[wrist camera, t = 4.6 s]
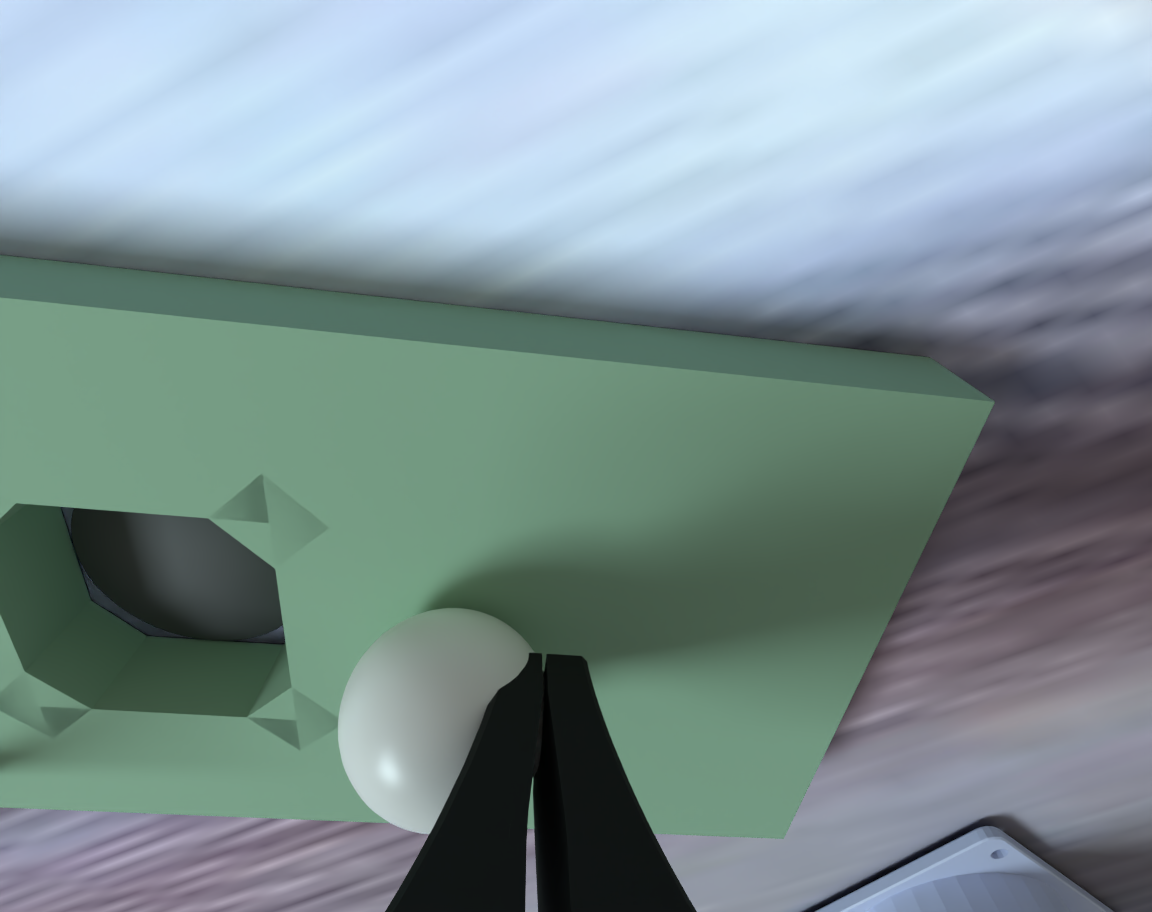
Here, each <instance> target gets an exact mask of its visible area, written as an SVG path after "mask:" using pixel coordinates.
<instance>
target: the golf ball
mask: <svg viewBox="0 0 1152 912" xmlns="http://www.w3.org/2000/svg"><path fill="white" fill-rule="evenodd" d="M529 653H535V652H534V651H533V650H532V648H531V647H530V645H529V644H528V643H527V642H526V641H525V639H524V638H523V637H522V636H521V635H520V634H519V633H518V632H516V631H515V630H514V629H513V628H511V627H510V626H509V625H507V624H506V623H504V622H503V621H501V620H499V619H497V618H495V617H493V616H491V615H488V614H485V613H483V612H479V611H475V610H470V609H463V608H443V609H436V610H430V611H426V612H423V613H420V614H417V615H414V616H412V617H409V618H407V619H405V620H403V621H401V622H400V623H398V624H397V625H395V626H394V627H392V628H391V629H389V630H388V631H386V632H385V633H384V634H382V635H381V636H380V637H379V638H378V639H377V640H376V641H375V642H374V643H373V644H372V645H371V646H370V648H369V649H368V650H367V651H366V652H365V653H364V655H363V656H362V657H361V659H360V660H359V662H358V663H357V665H356V666H355V668H354V670H353V672H352V674H351V676H350V678H349V680H348V683H347V685H346V687H345V691H344V694H343V697H342V701H341V704H340V711H339V718H338V743H339V749H340V754H341V759H342V763H343V766H344V769H345V771H346V774H347V776H348V778H349V780H350V782H351V784H352V786H353V787H354V789H355V790H356V792H357V793H358V795H359V796H360V798H361V799H362V800H363V801H364V802H365V804H366V805H367V806H368V807H369V808H370V809H371V810H372V811H374V812H375V813H376V814H378V815H379V816H380V817H382V818H383V819H385V820H386V821H388V822H389V823H391V824H394V825H396V826H398V827H400V828H402V829H405V830H409V831H413V832H417V833H422V834H430V832H431V831H432V829H433V827H434V825H435V823H436V821H437V819H438V817H439V815H440V813H441V811H442V809H443V807H444V805H445V803H446V801H447V799H448V797H449V795H450V792H451V790H452V788H453V786H454V784H455V782H456V780H457V778H458V776H459V774H460V772H461V770H462V767H463V765H464V763H465V761H466V758H467V756H468V753H469V751H470V749H471V746H472V744H473V741H474V739H475V736H476V734H477V732H478V729H479V727H480V724H481V722H482V719H483V716H484V713H485V710H486V708H487V705H488V704H489V702H490V701H491V700H492V698H493V697H494V695H495V694H496V693H497V691H498V690H499V689H500V688H501V687H503V686H505V685H506V684H508V683H509V682H511V681H512V680H513V679H514V678H515V677H517V676H518V675H519V673H520V672H521V670H522V669H523V668H524V667H525V665H526V663H527V662H528V657H529ZM542 669H543V667H542ZM543 711H544V670H543V695H542V703H541V711H540V720H539V728H538V736H537V745H536V753H535V761H534V769H533V777H534V775H535V774H536V772H537V770H538V767H539V762H540V755H541V745H542V726H543Z"/></svg>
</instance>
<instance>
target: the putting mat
mask: <svg viewBox="0 0 1152 912" xmlns="http://www.w3.org/2000/svg"><path fill="white" fill-rule="evenodd" d="M994 403H995V401H993V400H992V399H990V398H989V397H987V396H986V395H984V394H983V393H981V392H980V391H978V390H977V389H975V388H974V387H973V386H971V385H970V384H968V383H967V382H965V381H964V380H962V379H961V378H959V377H958V376H956V375H955V374H953V373H952V372H950V371H949V370H947V369H946V368H945V367H943V366H942V365H940V364H939V363H937V362H936V361H934V360H933V359H931V358H930V357H922V356H913V355H903V354H894V353H885V352H876V351H867V350H858V349H849V348H840V347H831V346H822V345H813V344H804V343H795V342H786V341H777V340H768V339H759V338H749V337H740V336H731V335H722V334H713V333H704V332H695V331H686V330H677V329H668V328H659V327H650V326H641V325H632V324H623V323H613V322H604V321H595V320H586V319H577V318H568V317H559V316H550V315H541V314H532V313H523V312H514V311H505V310H496V309H487V308H478V307H468V306H459V305H450V304H441V303H432V302H423V301H414V300H405V299H396V298H387V297H378V296H369V295H360V294H351V293H342V292H333V291H323V290H314V289H305V288H296V287H287V286H278V285H269V284H260V283H251V282H242V281H233V280H224V279H215V278H206V277H197V276H188V275H178V274H169V273H160V272H151V271H142V270H133V269H124V268H115V267H106V266H97V265H88V264H79V263H70V262H61V261H52V260H43V259H33V258H24V257H15V256H6V255H0V807H4V808H29V809H54V810H79V811H104V812H129V813H154V814H179V815H203V816H228V817H253V818H278V819H303V820H328V821H353V822H377V823H389V822H388V821H386V820H385V819H383V818H382V817H380V816H379V815H378V814H376V813H375V812H374V811H372V810H371V809H370V808H369V807H368V806H367V805H366V804H365V802H364V801H363V800H362V799H361V798H360V796H359V795H358V793H357V792H356V790H355V789H354V787H353V786H352V784H351V782H350V780H349V778H348V776H347V774H346V771H345V769H344V766H343V763H342V759H341V754H340V749H339V743H338V718H339V711H340V704H341V701H342V697H343V694H344V691H345V687H346V685H347V683H348V680H349V678H350V676H351V674H352V672H353V670H354V668H355V666H356V665H357V663H358V662H359V660H360V659H361V657H362V656H363V655H364V653H365V652H366V651H367V650H368V649H369V648H370V646H371V645H372V644H373V643H374V642H375V641H376V640H377V639H378V638H379V637H380V636H381V635H382V634H384V633H385V632H386V631H388V630H389V629H391V628H392V627H394V626H395V625H397V624H398V623H400V622H401V621H403V620H405V619H407V618H409V617H412V616H414V615H417V614H420V613H423V612H426V611H430V610H436V609H443V608H463V609H470V610H475V611H479V612H483V613H485V614H488V615H491V616H493V617H495V618H497V619H499V620H501V621H503V622H504V623H506V624H507V625H509V626H510V627H511V628H513V629H514V630H515V631H516V632H518V633H519V634H520V635H521V636H522V637H523V638H524V639H525V641H526V642H527V643H528V644H529V645H530V647H531V648H532V650H533V651H534V652H535V653H542V667H543V670H544V669H545V662H546V655H547V654H560V655H576V656H582V657H583V658H584V659H585V660H586V661H587V664H588V668H589V672H590V676H591V680H592V684H593V687H594V690H595V694H596V697H597V700H598V703H599V706H600V709H601V712H602V715H603V717H604V720H605V723H606V726H607V729H608V731H609V734H610V736H611V739H612V742H613V744H614V747H615V749H616V751H617V754H618V756H619V759H620V761H621V763H622V766H623V768H624V771H625V773H626V775H627V778H628V780H629V782H630V785H631V787H632V789H633V791H634V793H635V796H636V798H637V800H638V802H639V804H640V806H641V808H642V811H643V813H644V815H645V817H646V819H647V821H648V823H649V825H650V827H651V829H652V831H653V833H654V834H676V835H701V836H726V837H751V838H775V839H784V837H785V835H786V833H787V831H788V829H789V826H790V824H791V822H792V820H793V818H794V816H795V814H796V812H797V810H798V808H799V806H800V804H801V802H802V800H803V798H804V796H805V793H806V791H807V789H808V787H809V785H810V783H811V781H812V779H813V777H814V775H815V773H816V771H817V769H818V767H819V765H820V762H821V760H822V758H823V756H824V754H825V752H826V750H827V748H828V746H829V744H830V742H831V740H832V738H833V736H834V734H835V732H836V729H837V727H838V725H839V723H840V721H841V719H842V717H843V715H844V713H845V711H846V709H847V707H848V705H849V703H850V701H851V698H852V696H853V694H854V692H855V690H856V688H857V686H858V684H859V682H860V680H861V678H862V676H863V674H864V672H865V670H866V668H867V665H868V663H869V661H870V659H871V657H872V655H873V653H874V651H875V649H876V647H877V645H878V643H879V641H880V639H881V637H882V635H883V632H884V630H885V628H886V626H887V624H888V622H889V620H890V618H891V616H892V614H893V612H894V610H895V608H896V606H897V604H898V601H899V599H900V597H901V595H902V593H903V591H904V589H905V587H906V585H907V583H908V581H909V579H910V577H911V575H912V573H913V571H914V568H915V566H916V564H917V562H918V560H919V558H920V556H921V554H922V552H923V550H924V548H925V546H926V544H927V542H928V540H929V537H930V535H931V533H932V531H933V529H934V527H935V525H936V523H937V521H938V519H939V517H940V515H941V513H942V511H943V509H944V507H945V504H946V502H947V500H948V498H949V496H950V494H951V492H952V490H953V488H954V486H955V484H956V482H957V480H958V478H959V476H960V473H961V471H962V469H963V467H964V465H965V463H966V461H967V459H968V457H969V455H970V453H971V451H972V449H973V447H974V445H975V443H976V440H977V438H978V436H979V434H980V432H981V430H982V428H983V426H984V424H985V422H986V420H987V418H988V416H989V414H990V412H991V410H992V407H993V405H994ZM60 507H71V508H74V510H73V514H72V522H71V531H72V540H73V544H74V548H75V551H76V553H77V556H78V558H79V560H80V562H81V564H82V566H83V568H84V569H85V571H86V573H87V574H88V575H89V577H90V578H91V579H92V581H93V582H94V583H95V584H96V585H97V586H98V588H99V589H100V590H101V591H102V592H103V593H104V594H105V595H106V596H108V597H109V598H110V599H111V600H112V601H113V602H115V603H116V604H117V605H118V606H120V607H121V608H123V609H124V610H125V611H127V612H128V613H130V614H132V615H133V616H135V617H137V618H139V619H140V620H142V621H144V622H146V623H148V624H151V625H153V626H155V627H157V628H160V629H163V630H165V631H168V632H171V633H175V634H178V635H182V636H186V637H191V638H196V639H183V638H168V637H152V636H146V635H144V634H143V633H141V632H140V631H138V630H137V629H135V628H133V627H132V626H130V625H129V624H127V623H126V622H124V621H122V620H121V619H119V618H118V617H116V616H115V615H113V614H111V613H110V612H108V611H107V610H105V609H104V608H102V607H100V606H99V605H97V604H96V603H94V602H92V601H91V599H90V596H89V593H88V590H87V587H86V584H85V581H84V578H83V575H82V572H81V569H80V566H79V563H78V560H77V557H76V554H75V551H74V548H73V545H72V542H71V538H70V535H69V532H68V529H67V526H66V523H65V520H64V517H63V514H62V511H61V508H60ZM282 625H283V628H284V636H285V644H283V645H278V644H263V643H247V642H231V640H242V639H248V638H253V637H257V636H260V635H263V634H266V633H268V632H271V631H273V630H275V629H277V628H279V627H280V626H282ZM199 639H203V640H199ZM527 829H534V809H533V778H532V786H531V794H530V803H529V811H528V825H527Z"/></svg>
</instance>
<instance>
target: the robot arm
mask: <svg viewBox="0 0 1152 912" xmlns="http://www.w3.org/2000/svg"><path fill="white" fill-rule="evenodd" d="M542 695H543V669H542V653H529V657H528V662H527V663H526V665H525V667H524V668H523V669H522V670H521V672H520V673H519V675H518V676H517V677H515V678H514V679H513V680H512V681H511V682H509V683H508V684H506V685H505V686H503V687H501V688H500V689H499V690H498V691H497V693H496V694H495V695H494V697H493V698H492V700H491V701H490V702H489V704H488V705H487V708H486V710H485V713H484V716H483V719H482V722H481V724H480V727H479V729H478V732H477V734H476V736H475V739H474V741H473V744H472V746H471V749H470V751H469V753H468V756H467V758H466V761H465V763H464V765H463V767H462V770H461V772H460V774H459V776H458V778H457V780H456V782H455V784H454V786H453V788H452V790H451V792H450V795H449V797H448V799H447V801H446V803H445V805H444V807H443V809H442V811H441V813H440V815H439V817H438V819H437V821H436V823H435V825H434V827H433V829H432V831H431V832H430V834H429V836H428V838H427V840H426V842H425V844H424V846H423V847H422V849H421V851H420V853H419V855H418V857H417V858H416V860H415V862H414V864H413V865H412V867H411V869H410V871H409V872H408V874H407V876H406V878H405V879H404V881H403V883H402V885H401V886H400V888H399V890H398V891H397V893H396V895H395V896H394V898H393V900H392V901H391V903H390V905H389V906H388V908H387V910H386V911H385V912H525V885H526V838H527V825H528V811H529V803H530V794H531V786H532V778H533V809H534V831H535V853H536V874H537V895H538V912H697V911H696V910H695V908H694V906H693V905H692V903H691V901H690V900H689V898H688V896H687V894H686V893H685V891H684V889H683V887H682V886H681V884H680V882H679V880H678V878H677V877H676V875H675V873H674V871H673V869H672V868H671V866H670V864H669V862H668V860H667V858H666V856H665V855H664V853H663V851H662V849H661V847H660V845H659V843H658V841H657V839H656V837H655V835H654V833H653V831H652V829H651V827H650V825H649V823H648V821H647V819H646V817H645V815H644V813H643V811H642V808H641V806H640V804H639V802H638V800H637V798H636V796H635V793H634V791H633V789H632V787H631V785H630V782H629V780H628V778H627V775H626V773H625V771H624V768H623V766H622V763H621V761H620V759H619V756H618V754H617V751H616V749H615V747H614V744H613V742H612V739H611V736H610V734H609V731H608V729H607V726H606V723H605V720H604V717H603V715H602V712H601V709H600V706H599V703H598V700H597V697H596V694H595V690H594V687H593V684H592V680H591V676H590V672H589V668H588V664H587V661H586V660H585V659H584V658H583V657H582V656H576V655H560V654H547V655H546V662H545V669H544V711H543V726H542V745H541V755H540V762H539V767H538V770H537V772H536V774H535V775H534V777H533V769H534V761H535V753H536V745H537V736H538V728H539V720H540V711H541V703H542ZM815 912H1114V911H1113V910H1111V909H1110V908H1108V907H1107V906H1106V905H1104V904H1103V903H1101V902H1100V901H1099V900H1097V899H1096V898H1095V897H1093V896H1092V895H1090V894H1089V893H1088V892H1086V891H1085V890H1083V889H1082V888H1081V887H1079V886H1078V885H1076V884H1075V883H1074V882H1072V881H1071V880H1070V879H1068V878H1067V877H1065V876H1064V875H1063V874H1061V873H1060V872H1058V871H1057V870H1056V869H1054V868H1053V867H1051V866H1050V865H1049V864H1047V863H1046V862H1044V861H1043V860H1042V859H1040V858H1039V857H1038V856H1036V855H1035V854H1033V853H1032V852H1031V851H1029V850H1028V849H1026V848H1025V847H1024V846H1022V845H1021V844H1019V843H1018V842H1017V841H1015V840H1014V839H1013V838H1011V837H1010V836H1008V835H1007V834H1006V833H1004V832H1003V831H1001V830H1000V829H998V828H996V827H993V826H983V827H979V828H977V829H974V830H972V831H971V832H969V833H967V834H965V835H963V836H961V837H959V838H957V839H955V840H953V841H951V842H949V843H947V844H945V845H943V846H941V847H939V848H937V849H935V850H934V851H932V852H930V853H928V854H926V855H924V856H922V857H920V858H918V859H916V860H914V861H912V862H910V863H908V864H906V865H904V866H902V867H900V868H898V869H897V870H895V871H893V872H891V873H889V874H887V875H885V876H883V877H881V878H879V879H877V880H875V881H873V882H871V883H869V884H867V885H865V886H863V887H862V888H860V889H858V890H856V891H854V892H852V893H850V894H848V895H846V896H844V897H842V898H840V899H838V900H836V901H834V902H832V903H830V904H828V905H826V906H825V907H823V908H821V909H819V910H817V911H815Z"/></svg>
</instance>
